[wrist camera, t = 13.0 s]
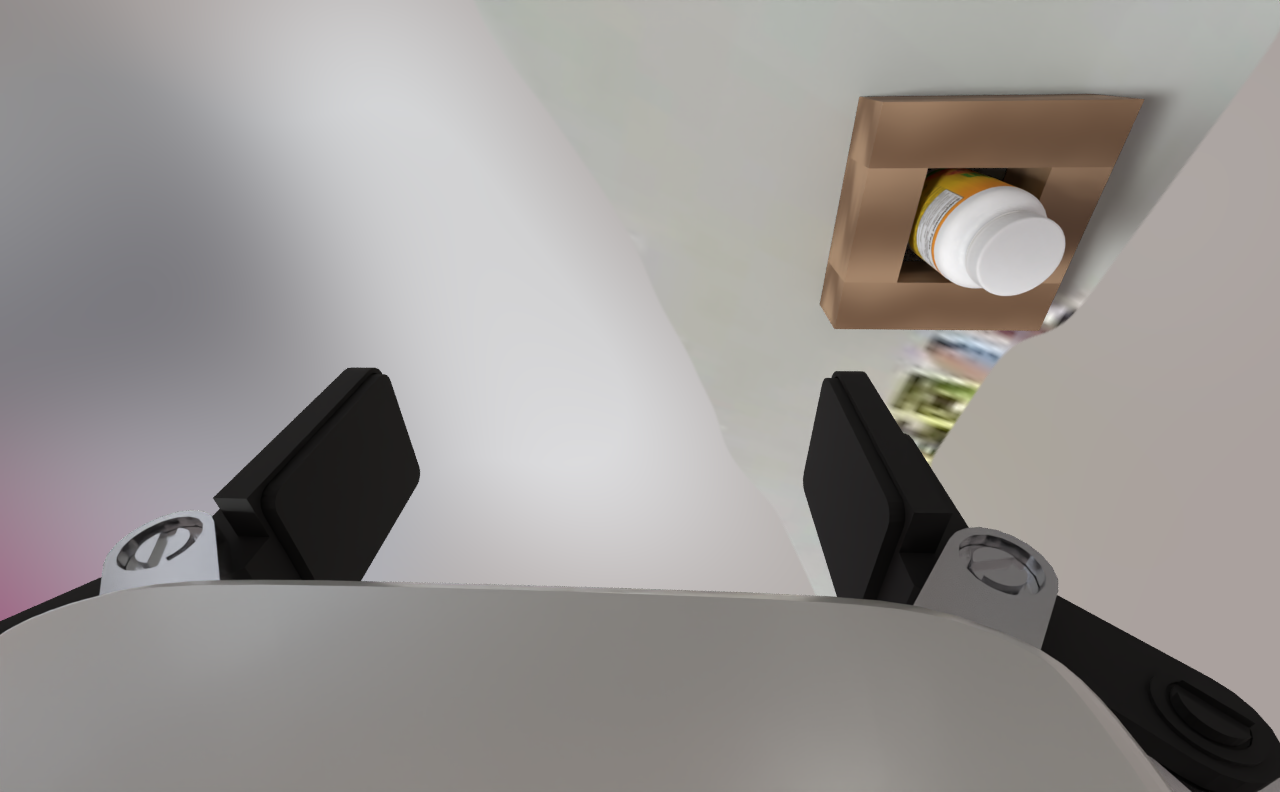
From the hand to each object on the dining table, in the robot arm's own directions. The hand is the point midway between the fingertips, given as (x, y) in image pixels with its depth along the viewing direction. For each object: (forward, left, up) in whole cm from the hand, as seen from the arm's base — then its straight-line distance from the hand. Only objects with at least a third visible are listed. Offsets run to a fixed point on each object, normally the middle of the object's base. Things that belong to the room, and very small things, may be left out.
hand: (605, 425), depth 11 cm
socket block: (+2, +19, -26) cm, 32 cm away
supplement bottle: (+2, +19, -27) cm, 32 cm away
